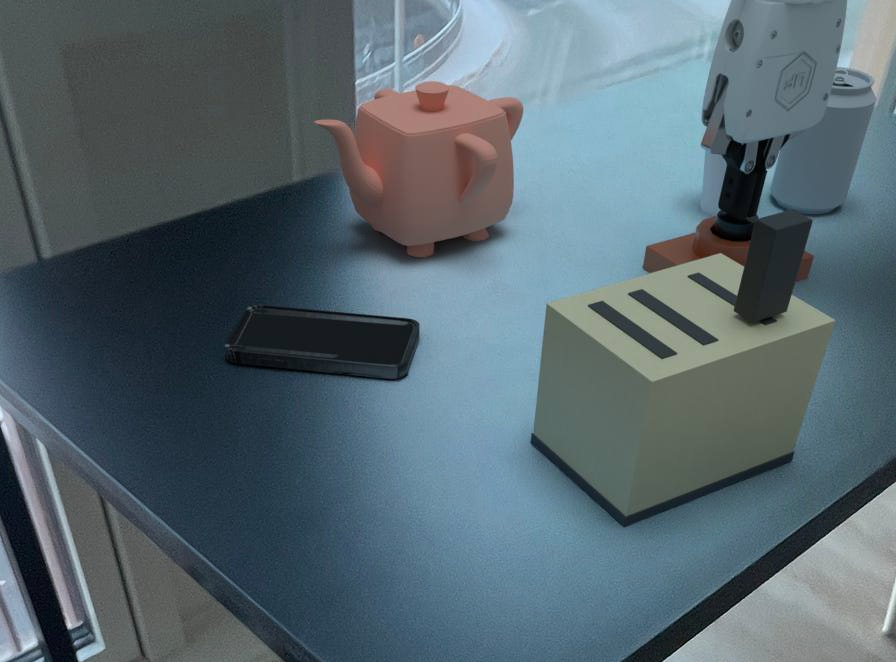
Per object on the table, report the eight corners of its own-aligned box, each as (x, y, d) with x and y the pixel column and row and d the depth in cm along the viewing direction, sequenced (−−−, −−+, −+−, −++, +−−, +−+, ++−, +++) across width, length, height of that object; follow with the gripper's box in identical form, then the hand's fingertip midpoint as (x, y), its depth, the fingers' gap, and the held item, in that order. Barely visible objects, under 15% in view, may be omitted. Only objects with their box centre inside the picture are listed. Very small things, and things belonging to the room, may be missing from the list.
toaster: (690, 387, 79) (721, 250, 71) (792, 461, 73) (838, 318, 65) (530, 442, 74) (544, 301, 66) (623, 527, 67) (652, 381, 59)
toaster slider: (767, 300, 66) (792, 208, 62) (787, 312, 65) (813, 219, 61) (732, 311, 65) (755, 218, 61) (751, 323, 64) (776, 230, 59)
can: (764, 212, 102) (797, 83, 94) (771, 183, 107) (802, 58, 98) (841, 222, 101) (882, 91, 92) (844, 193, 105) (882, 66, 97)
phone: (249, 303, 86) (421, 319, 84) (250, 315, 87) (421, 331, 85) (220, 350, 81) (404, 368, 79) (222, 363, 81) (404, 380, 80)
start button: (734, 223, 92) (739, 204, 91) (762, 238, 90) (767, 219, 88) (704, 231, 91) (708, 212, 89) (731, 247, 88) (736, 227, 87)
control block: (740, 240, 98) (750, 199, 95) (807, 278, 92) (820, 236, 89) (642, 268, 93) (649, 226, 91) (706, 310, 88) (716, 266, 85)
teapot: (517, 204, 103) (528, 62, 94) (499, 275, 92) (509, 122, 83) (358, 193, 105) (353, 52, 96) (322, 260, 94) (312, 109, 85)
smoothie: (734, 228, 99) (770, 73, 89) (675, 212, 102) (704, 58, 92) (761, 207, 103) (799, 55, 93) (704, 191, 106) (734, 41, 96)
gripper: (754, -7, 71) (698, 247, 84) (903, -32, 76) (829, 211, 89) (685, -32, 75) (642, 213, 88) (830, -54, 80) (769, 181, 94)
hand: (736, 212), depth 89 cm, fingers closed
